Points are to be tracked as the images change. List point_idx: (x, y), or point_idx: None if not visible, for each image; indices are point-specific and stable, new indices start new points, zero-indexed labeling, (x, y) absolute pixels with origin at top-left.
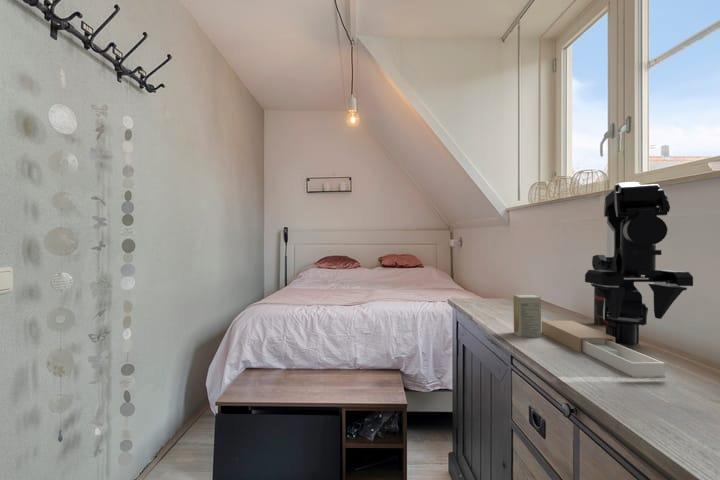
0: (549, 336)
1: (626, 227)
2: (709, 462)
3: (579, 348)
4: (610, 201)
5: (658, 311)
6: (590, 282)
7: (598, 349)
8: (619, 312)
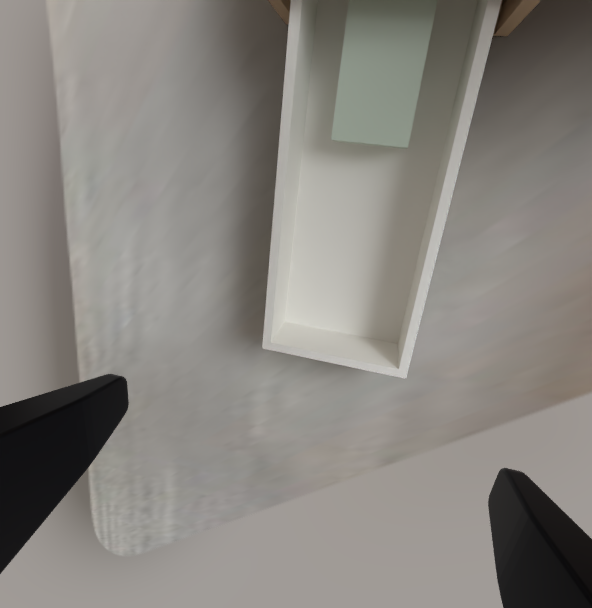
0: None
1: None
2: (138, 550)
3: (278, 8)
4: None
5: (512, 558)
6: None
7: (281, 145)
8: (82, 466)
